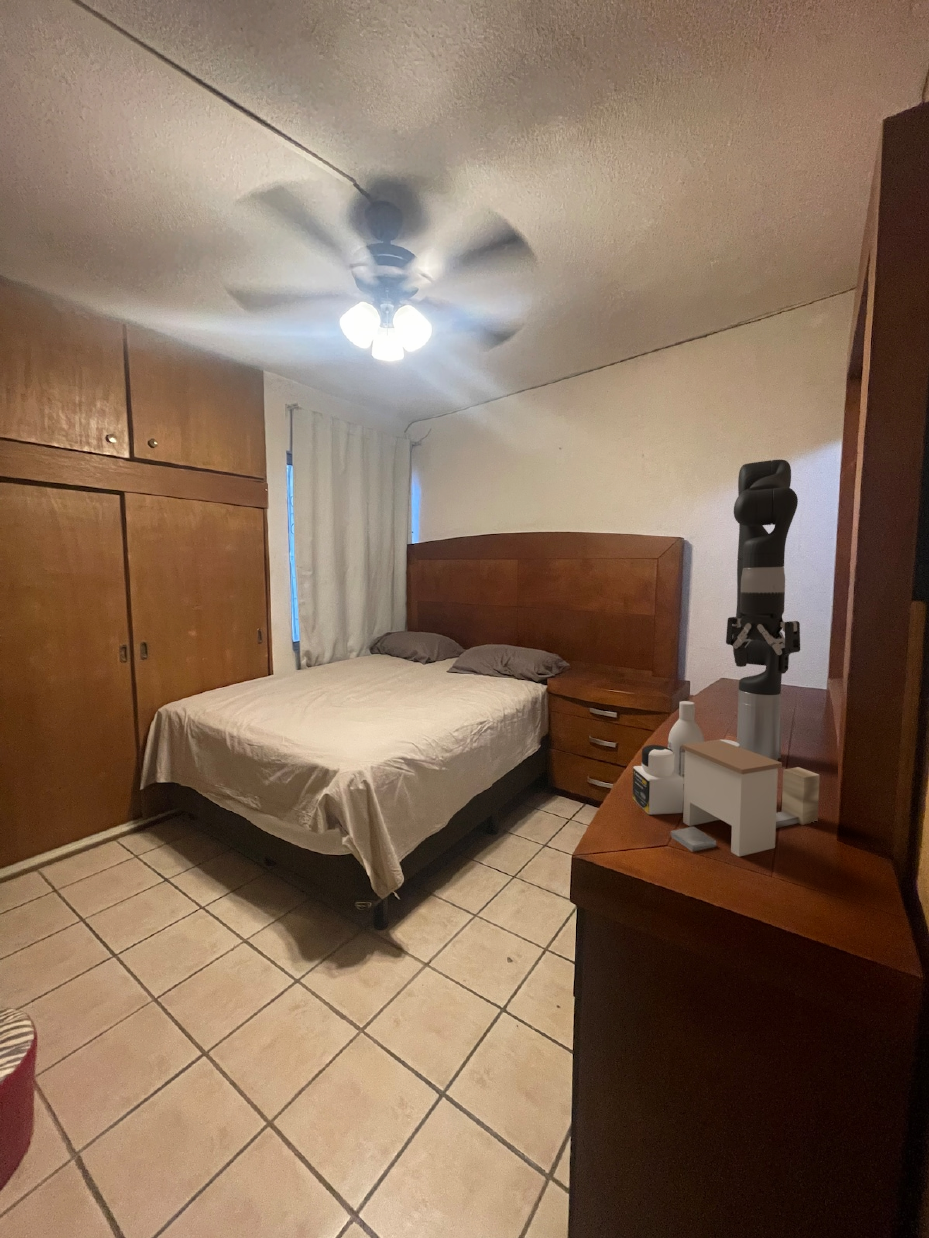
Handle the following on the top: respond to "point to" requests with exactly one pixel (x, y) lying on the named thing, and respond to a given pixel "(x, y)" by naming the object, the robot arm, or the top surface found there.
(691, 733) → the bath foam
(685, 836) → the plate
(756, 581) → the robot arm
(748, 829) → the cabinet
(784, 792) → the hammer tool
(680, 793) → the medicine bottle
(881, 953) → the top surface
